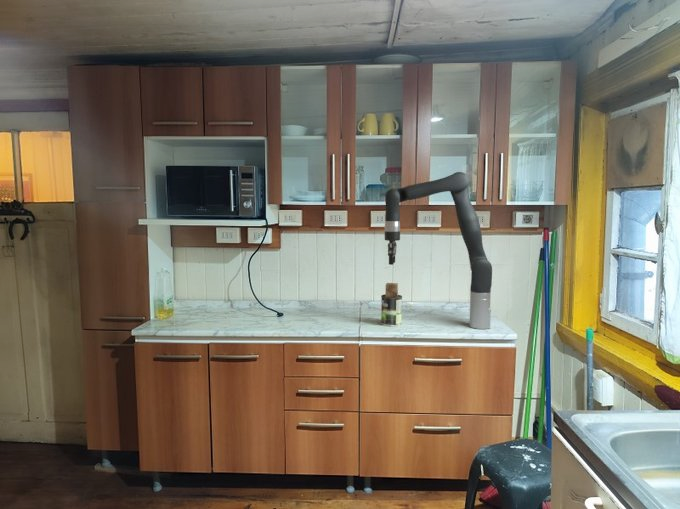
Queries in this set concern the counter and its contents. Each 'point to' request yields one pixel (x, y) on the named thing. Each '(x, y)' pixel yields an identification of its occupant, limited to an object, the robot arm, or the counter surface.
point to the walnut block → (391, 289)
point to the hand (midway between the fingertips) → (392, 263)
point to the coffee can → (391, 310)
